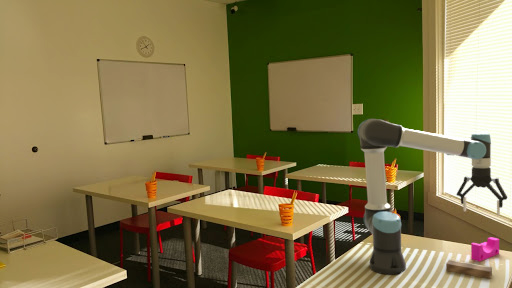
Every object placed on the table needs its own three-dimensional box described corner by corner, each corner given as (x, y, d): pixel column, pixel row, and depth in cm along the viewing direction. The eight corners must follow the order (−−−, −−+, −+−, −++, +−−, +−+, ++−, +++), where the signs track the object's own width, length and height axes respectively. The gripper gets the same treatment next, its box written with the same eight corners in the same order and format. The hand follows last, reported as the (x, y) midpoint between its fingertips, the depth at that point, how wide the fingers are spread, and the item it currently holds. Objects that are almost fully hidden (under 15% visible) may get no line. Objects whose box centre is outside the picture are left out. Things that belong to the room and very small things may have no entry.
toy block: (485, 251, 188) (485, 235, 188) (499, 255, 183) (499, 239, 182) (465, 258, 181) (465, 242, 180) (479, 262, 176) (479, 245, 175)
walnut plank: (446, 270, 168) (446, 263, 168) (448, 266, 172) (448, 259, 172) (490, 278, 158) (490, 271, 158) (491, 274, 162) (491, 267, 162)
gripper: (449, 166, 188) (449, 211, 189) (512, 169, 172) (512, 217, 174) (453, 164, 194) (453, 207, 195) (514, 167, 178) (514, 213, 180)
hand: (481, 212), depth 185 cm, fingers open, 13 cm apart
